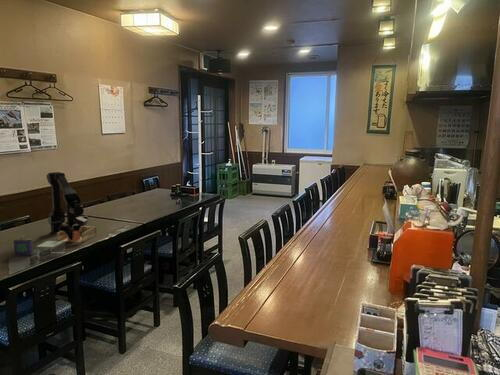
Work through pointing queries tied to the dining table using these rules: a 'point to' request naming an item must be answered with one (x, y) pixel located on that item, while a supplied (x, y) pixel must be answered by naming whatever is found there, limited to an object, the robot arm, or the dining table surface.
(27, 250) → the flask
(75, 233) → the block
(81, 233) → the hinoki box
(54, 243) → the plate
